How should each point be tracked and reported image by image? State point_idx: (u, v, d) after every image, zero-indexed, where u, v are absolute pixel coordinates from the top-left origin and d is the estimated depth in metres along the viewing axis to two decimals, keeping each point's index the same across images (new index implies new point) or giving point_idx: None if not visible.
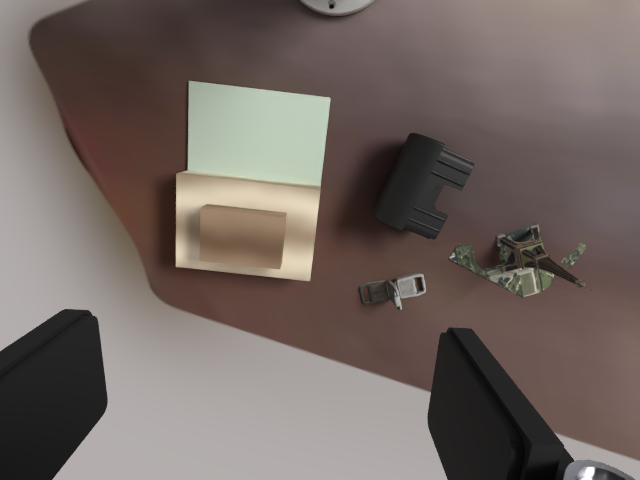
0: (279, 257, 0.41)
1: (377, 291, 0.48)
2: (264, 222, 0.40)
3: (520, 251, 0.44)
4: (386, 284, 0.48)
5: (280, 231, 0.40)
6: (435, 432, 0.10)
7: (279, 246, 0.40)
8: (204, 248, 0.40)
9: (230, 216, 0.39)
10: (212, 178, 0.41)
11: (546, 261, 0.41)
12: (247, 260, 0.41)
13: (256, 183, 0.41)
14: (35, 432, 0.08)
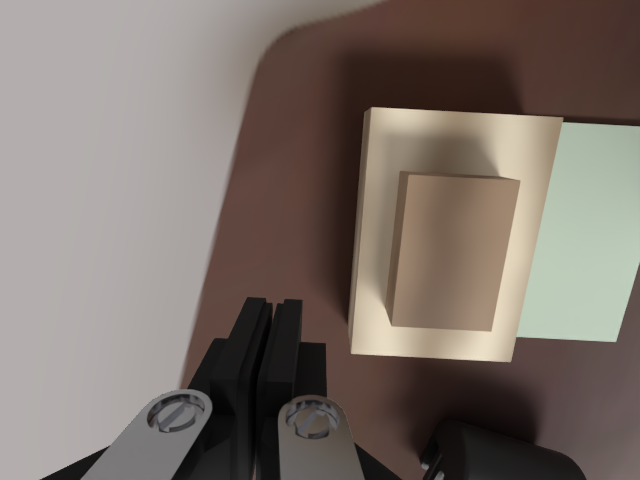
0: (415, 324, 0.22)
1: None
2: (483, 298, 0.21)
3: None
4: None
5: (465, 325, 0.22)
6: None
7: (437, 325, 0.22)
8: (435, 186, 0.20)
9: (499, 238, 0.20)
10: (546, 186, 0.22)
11: None
12: (408, 269, 0.21)
13: (529, 263, 0.23)
14: None
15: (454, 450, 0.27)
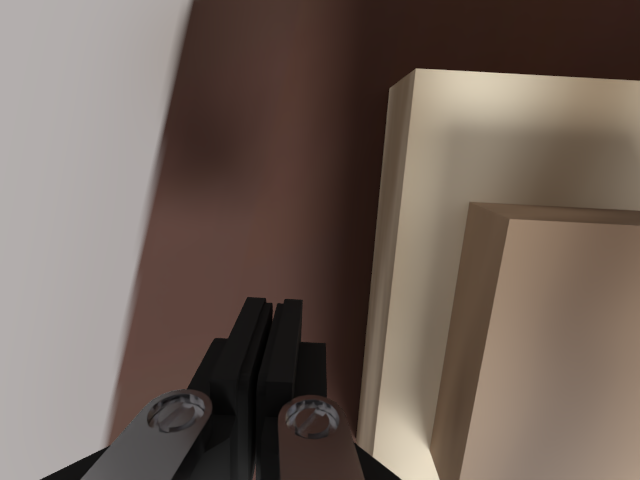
0: None
1: None
2: None
3: None
4: None
5: None
6: None
7: None
8: (569, 245, 0.09)
9: None
10: None
11: None
12: (494, 414, 0.10)
13: None
14: None
15: None
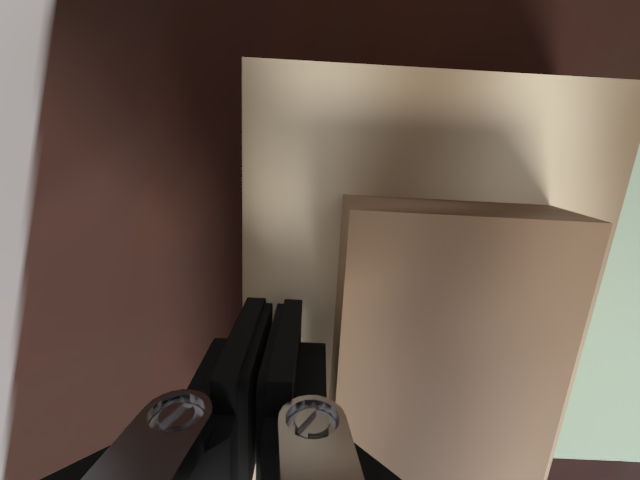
0: None
1: None
2: (518, 463, 0.10)
3: None
4: None
5: None
6: None
7: None
8: (413, 236, 0.08)
9: (557, 348, 0.09)
10: (612, 226, 0.11)
11: None
12: (358, 410, 0.10)
13: None
14: None
15: None
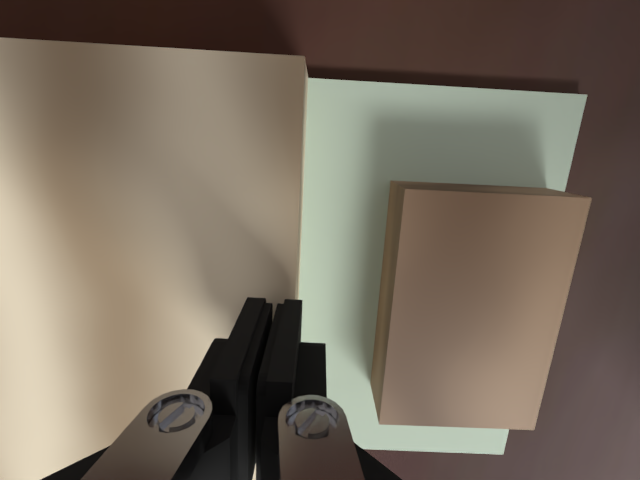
0: None
1: None
2: None
3: None
4: None
5: None
6: None
7: None
8: None
9: None
10: (295, 207, 0.11)
11: None
12: None
13: None
14: None
15: None
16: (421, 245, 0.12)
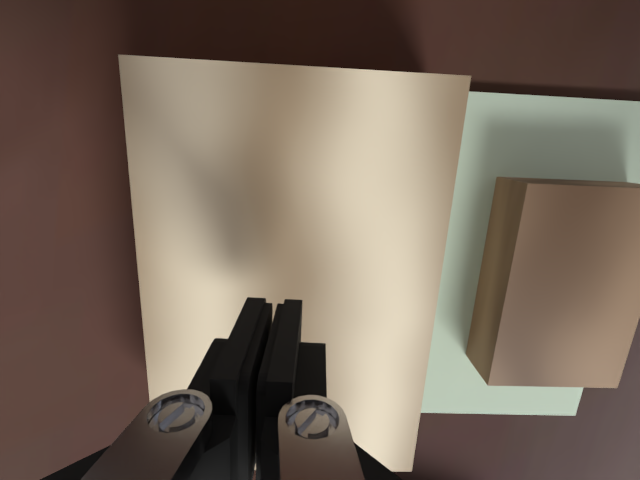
0: None
1: None
2: None
3: None
4: None
5: None
6: None
7: None
8: None
9: None
10: (449, 199, 0.13)
11: None
12: None
13: (430, 324, 0.14)
14: None
15: None
16: (536, 230, 0.14)
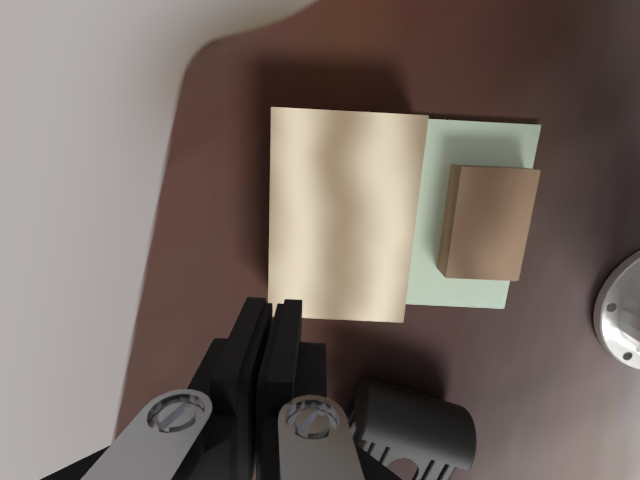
0: None
1: None
2: None
3: None
4: None
5: None
6: None
7: None
8: None
9: None
10: (420, 172, 0.27)
11: None
12: None
13: (412, 237, 0.28)
14: None
15: (361, 400, 0.32)
16: (467, 190, 0.28)
